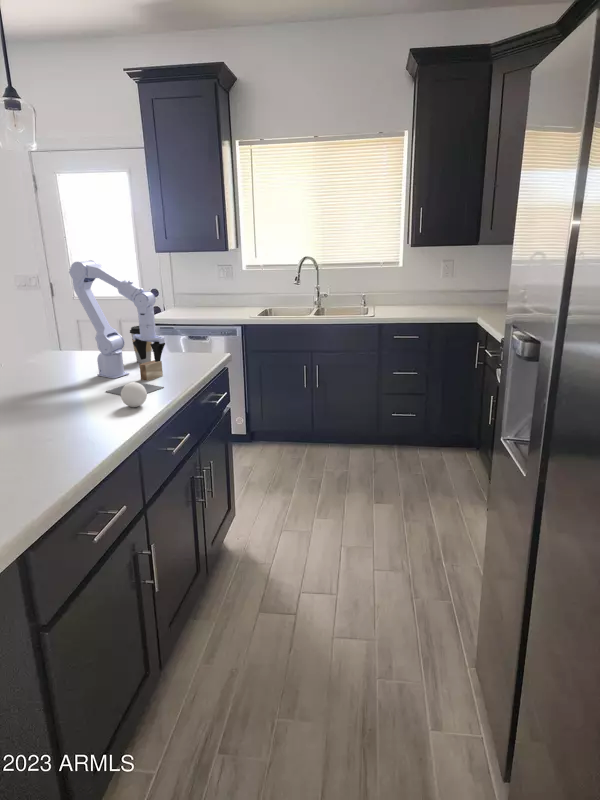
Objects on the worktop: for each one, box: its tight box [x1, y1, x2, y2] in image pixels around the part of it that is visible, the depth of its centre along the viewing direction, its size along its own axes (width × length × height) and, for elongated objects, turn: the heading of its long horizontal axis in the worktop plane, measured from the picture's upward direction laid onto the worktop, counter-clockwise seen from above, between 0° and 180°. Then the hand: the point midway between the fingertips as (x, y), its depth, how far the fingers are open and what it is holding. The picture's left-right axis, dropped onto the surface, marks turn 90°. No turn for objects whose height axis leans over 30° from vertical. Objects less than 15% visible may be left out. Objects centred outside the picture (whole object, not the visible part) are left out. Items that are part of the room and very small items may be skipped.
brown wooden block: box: [138, 359, 164, 381], centre depth 200 cm, size 4×8×6 cm, turn 150°
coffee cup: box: [129, 325, 153, 364], centre depth 223 cm, size 9×9×15 cm
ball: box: [120, 381, 148, 408], centre depth 167 cm, size 8×8×8 cm
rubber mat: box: [105, 381, 165, 396], centre depth 185 cm, size 14×14×1 cm
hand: (150, 360), depth 199 cm, fingers open, 7 cm apart
